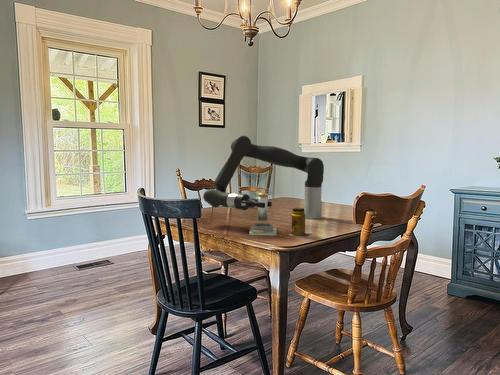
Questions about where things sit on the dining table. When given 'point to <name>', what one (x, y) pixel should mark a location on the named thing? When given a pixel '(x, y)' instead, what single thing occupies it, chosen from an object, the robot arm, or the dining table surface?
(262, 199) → the glass storage jar
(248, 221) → the dining table surface
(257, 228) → the dock
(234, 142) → the robot arm
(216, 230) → the dining table surface
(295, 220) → the condiment
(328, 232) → the dining table surface
